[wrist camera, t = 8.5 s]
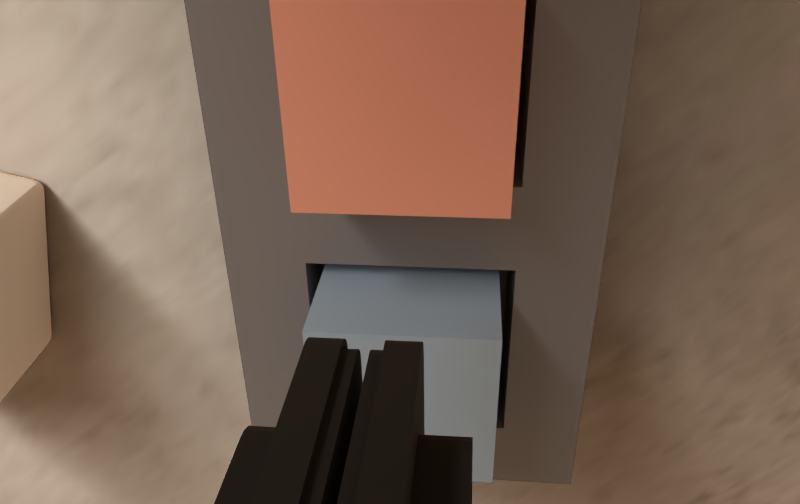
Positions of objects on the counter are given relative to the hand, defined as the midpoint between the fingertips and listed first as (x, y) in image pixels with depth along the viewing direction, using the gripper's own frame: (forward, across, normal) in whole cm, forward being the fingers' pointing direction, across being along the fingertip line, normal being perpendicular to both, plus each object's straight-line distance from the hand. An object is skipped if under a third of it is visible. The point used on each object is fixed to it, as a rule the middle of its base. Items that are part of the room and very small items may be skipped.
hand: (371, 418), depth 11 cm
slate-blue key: (+10, 0, +5) cm, 11 cm away
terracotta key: (+9, 0, -3) cm, 10 cm away
